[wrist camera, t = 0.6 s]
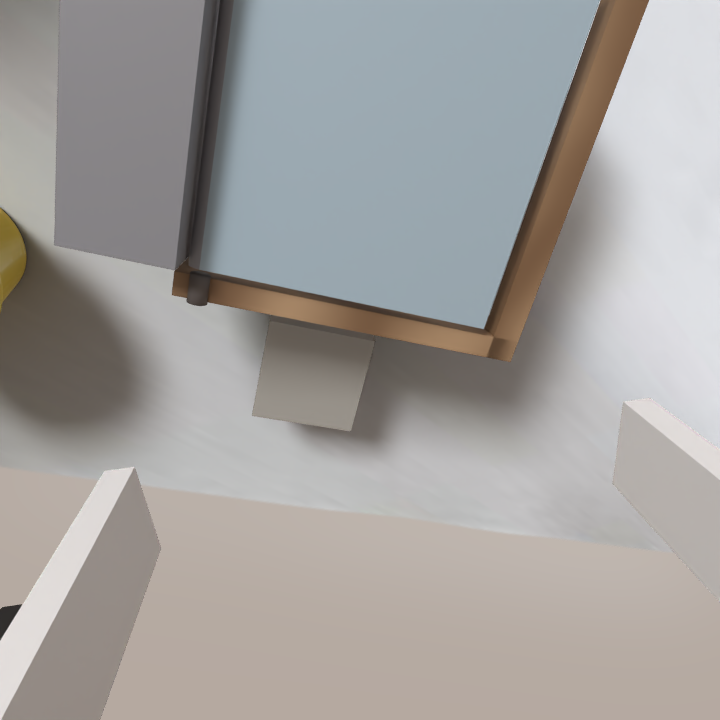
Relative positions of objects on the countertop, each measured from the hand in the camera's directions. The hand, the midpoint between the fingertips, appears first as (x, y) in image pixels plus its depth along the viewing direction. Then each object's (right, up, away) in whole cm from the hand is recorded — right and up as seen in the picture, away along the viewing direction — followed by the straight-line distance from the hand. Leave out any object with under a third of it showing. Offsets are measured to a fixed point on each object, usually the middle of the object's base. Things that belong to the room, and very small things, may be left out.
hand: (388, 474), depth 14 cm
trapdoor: (-2, +13, +7) cm, 15 cm away
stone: (-4, +4, +21) cm, 22 cm away
